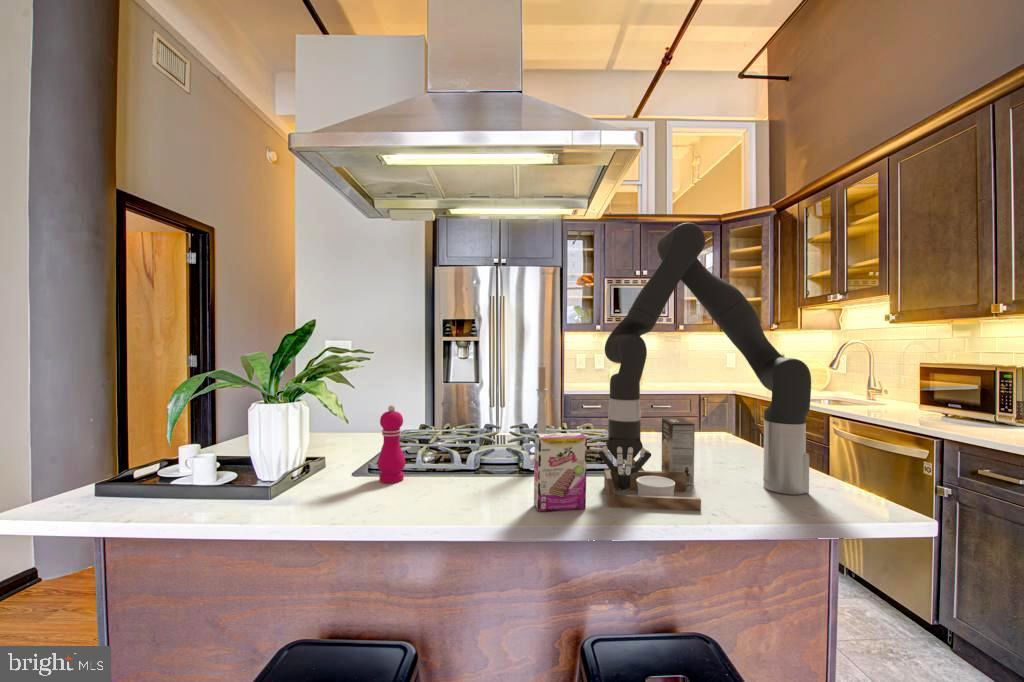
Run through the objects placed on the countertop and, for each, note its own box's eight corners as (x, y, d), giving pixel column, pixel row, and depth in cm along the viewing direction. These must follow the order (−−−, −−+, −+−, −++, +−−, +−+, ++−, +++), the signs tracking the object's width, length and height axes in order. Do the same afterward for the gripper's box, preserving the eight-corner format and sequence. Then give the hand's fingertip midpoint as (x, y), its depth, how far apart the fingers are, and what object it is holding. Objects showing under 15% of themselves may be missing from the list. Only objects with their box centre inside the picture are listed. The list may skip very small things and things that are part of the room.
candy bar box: (538, 513, 105) (538, 437, 105) (533, 505, 110) (533, 433, 110) (587, 510, 107) (587, 436, 107) (580, 502, 112) (580, 431, 112)
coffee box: (660, 474, 134) (660, 417, 134) (683, 475, 134) (683, 417, 134) (670, 485, 125) (671, 423, 125) (695, 485, 125) (695, 423, 125)
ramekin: (629, 494, 118) (629, 476, 118) (661, 491, 120) (661, 474, 120) (649, 507, 109) (649, 487, 109) (683, 503, 112) (683, 484, 112)
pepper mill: (411, 478, 130) (411, 404, 129) (391, 485, 124) (391, 408, 123) (392, 474, 133) (392, 402, 133) (371, 481, 127) (371, 405, 127)
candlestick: (524, 459, 150) (524, 363, 150) (565, 461, 148) (565, 364, 148) (516, 470, 138) (516, 366, 138) (561, 473, 135) (561, 366, 135)
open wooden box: (685, 490, 121) (685, 472, 121) (700, 510, 107) (701, 490, 106) (604, 486, 123) (604, 469, 123) (608, 506, 109) (609, 486, 109)
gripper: (650, 415, 118) (649, 485, 119) (595, 414, 120) (594, 483, 120) (655, 420, 111) (654, 495, 111) (597, 419, 112) (596, 493, 113)
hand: (623, 489), depth 116 cm, fingers closed
